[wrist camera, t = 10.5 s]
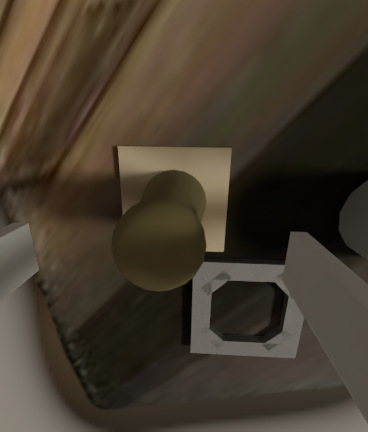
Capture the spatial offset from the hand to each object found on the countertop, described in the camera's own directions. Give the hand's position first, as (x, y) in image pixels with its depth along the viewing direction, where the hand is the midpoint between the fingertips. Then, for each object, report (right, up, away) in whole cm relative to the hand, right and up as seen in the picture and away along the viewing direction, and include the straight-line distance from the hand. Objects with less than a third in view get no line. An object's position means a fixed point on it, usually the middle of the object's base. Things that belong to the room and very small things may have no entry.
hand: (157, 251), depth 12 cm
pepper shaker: (0, +3, +10) cm, 11 cm away
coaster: (0, +3, +11) cm, 11 cm away
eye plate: (+8, -8, +14) cm, 18 cm away
